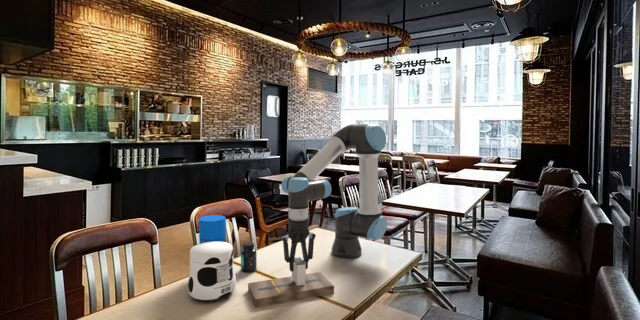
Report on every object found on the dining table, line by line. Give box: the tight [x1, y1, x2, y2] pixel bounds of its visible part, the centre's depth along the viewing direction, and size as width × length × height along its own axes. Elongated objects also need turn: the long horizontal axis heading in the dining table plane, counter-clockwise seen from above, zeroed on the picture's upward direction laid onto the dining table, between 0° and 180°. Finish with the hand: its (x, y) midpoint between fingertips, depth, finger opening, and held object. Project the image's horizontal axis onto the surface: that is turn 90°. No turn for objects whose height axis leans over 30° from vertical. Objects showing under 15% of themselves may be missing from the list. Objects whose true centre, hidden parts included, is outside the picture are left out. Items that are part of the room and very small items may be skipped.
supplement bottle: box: [240, 241, 258, 274], centre depth 156 cm, size 7×7×12 cm
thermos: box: [198, 214, 227, 244], centre depth 149 cm, size 11×11×25 cm
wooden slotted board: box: [247, 271, 335, 308], centre depth 136 cm, size 30×14×3 cm, turn 112°
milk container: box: [187, 241, 237, 302], centre depth 133 cm, size 17×17×18 cm
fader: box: [293, 257, 305, 286], centre depth 136 cm, size 3×6×9 cm, turn 22°
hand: (298, 277), depth 137 cm, fingers closed on fader, 3 cm apart
